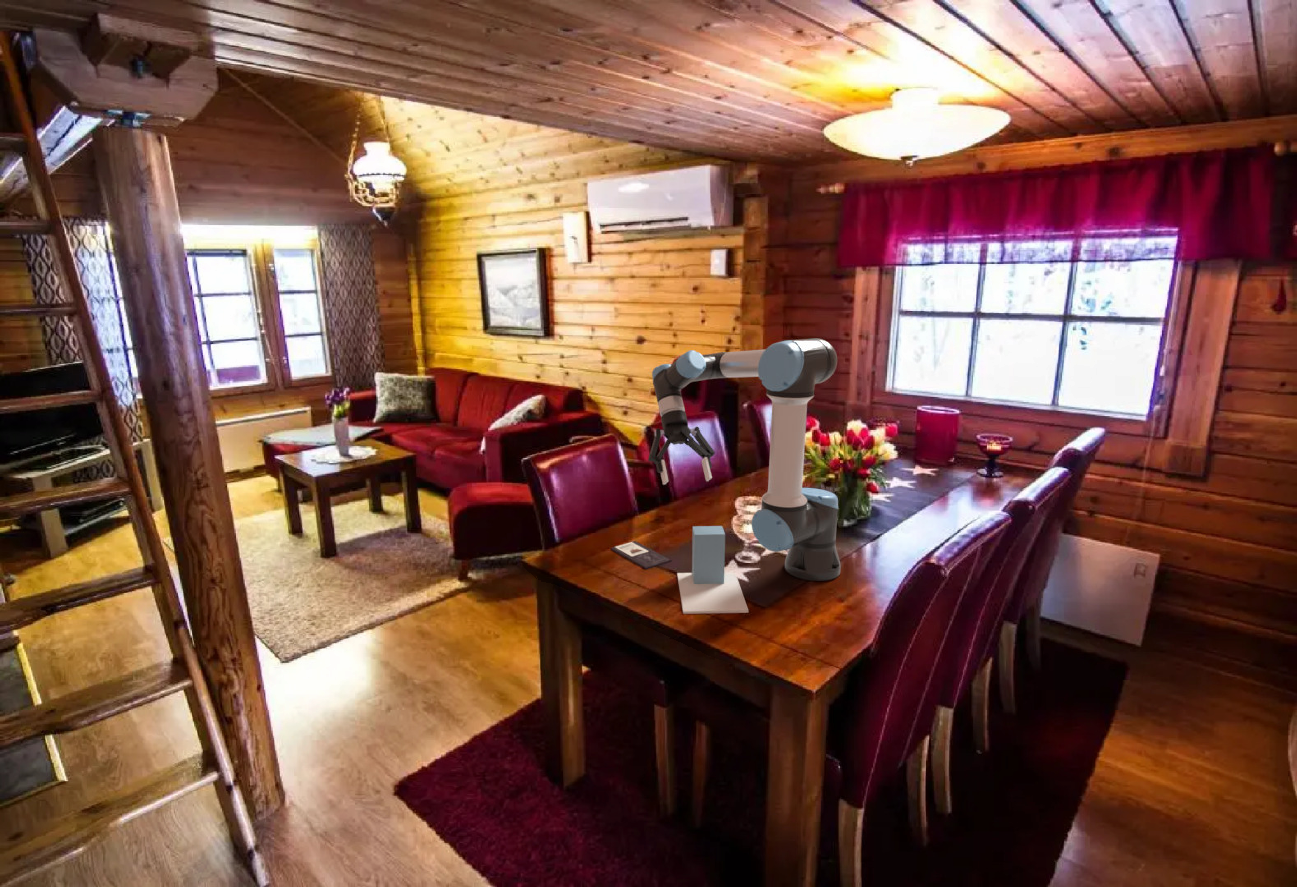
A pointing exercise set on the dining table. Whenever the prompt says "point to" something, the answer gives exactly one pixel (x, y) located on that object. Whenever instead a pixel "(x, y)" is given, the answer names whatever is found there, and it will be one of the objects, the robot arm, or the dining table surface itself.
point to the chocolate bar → (641, 555)
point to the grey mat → (711, 595)
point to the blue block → (708, 554)
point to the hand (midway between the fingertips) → (687, 481)
